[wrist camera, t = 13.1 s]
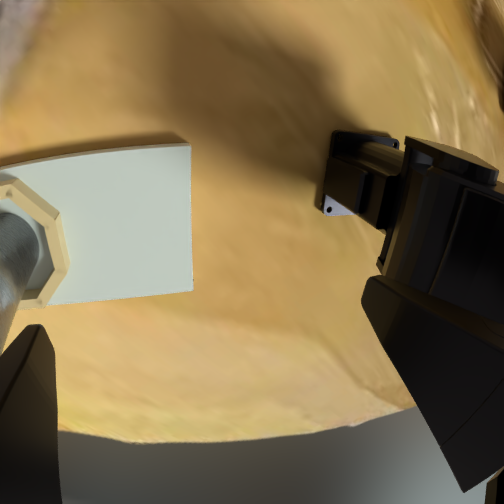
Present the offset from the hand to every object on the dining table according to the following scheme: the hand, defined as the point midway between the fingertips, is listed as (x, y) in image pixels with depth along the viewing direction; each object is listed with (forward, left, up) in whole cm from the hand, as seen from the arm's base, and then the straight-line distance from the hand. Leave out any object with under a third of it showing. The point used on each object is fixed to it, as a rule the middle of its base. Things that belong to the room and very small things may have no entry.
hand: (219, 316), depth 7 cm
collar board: (+7, +3, -13) cm, 15 cm away
